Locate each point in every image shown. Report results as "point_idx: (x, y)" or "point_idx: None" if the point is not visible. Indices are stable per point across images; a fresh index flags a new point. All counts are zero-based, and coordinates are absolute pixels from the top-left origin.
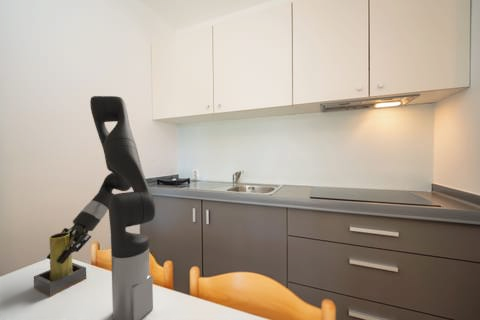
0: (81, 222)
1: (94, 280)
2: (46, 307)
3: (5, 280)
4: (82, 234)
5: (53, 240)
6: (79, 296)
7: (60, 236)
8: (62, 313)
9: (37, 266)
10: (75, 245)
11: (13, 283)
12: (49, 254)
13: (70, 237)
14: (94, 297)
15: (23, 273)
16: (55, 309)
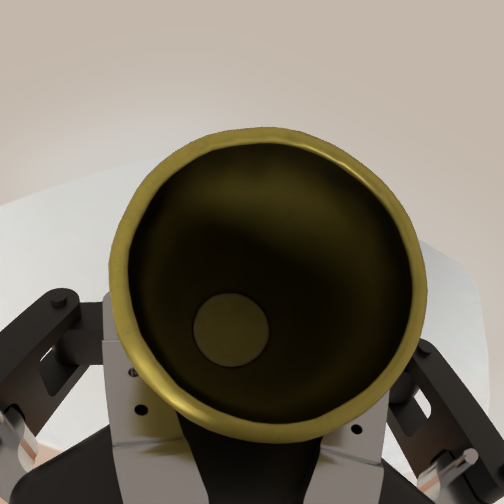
0: None
1: (89, 387)
2: (116, 200)
3: (466, 270)
4: (26, 474)
5: (233, 157)
6: (52, 277)
7: (371, 350)
8: (40, 198)
9: (476, 371)
10: (23, 314)
11: (425, 266)
12: None
13: None
14: (2, 285)
15: (468, 320)
16: (76, 202)
